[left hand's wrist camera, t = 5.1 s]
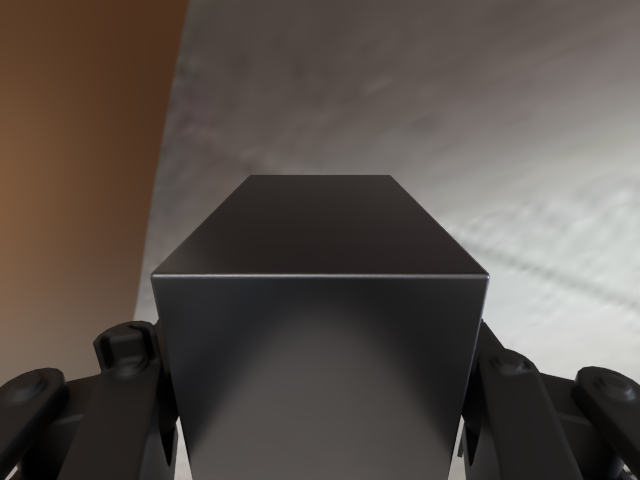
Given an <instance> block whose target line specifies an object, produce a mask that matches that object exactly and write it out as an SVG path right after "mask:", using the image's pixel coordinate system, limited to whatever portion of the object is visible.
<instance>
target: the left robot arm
mask: <svg viewBox="0 0 640 480" xmlns="http://www.w3.org/2000/svg"><path fill="white" fill-rule="evenodd" d="M93 345H94V348H95V352H96V355H97V358H98V361H99V365H100V368H101V373H100V374H98V375H95V376H91V377H86V378H82V379H77V380H73V381H68V382H66V380H65V377H64V375H63V373H62V372H61V371H60V370H59V369H55V368H42V369H36V370H33V371H30V372H26V373H24V374H21V375H19V376H18V377H16V378H14V379H12V380H10V381H8V382H7V383H5V384H4V385H3V386H1V387H0V480H5V479H6V477H7V476H8V475H9V473H10V472H11V471H12V470H13V468H14V467H15V466H17V468H18V470H17V471H16V472H15V474H14V475H13V476H12V477H11V478H10V479H9V480H174V474H175V464H176V454H177V444H178V431H177V426H176V421H177V419H178V417H179V412H178V407H177V402H176V398H175V393H174V388H173V383H172V378H171V374H170V369H169V364H168V359H167V355H166V350H165V345H164V340H163V336H162V331H161V326H160V321H159V320H158V321H157V323H156V324H155V325H152V324H151V323H150V322H145V321H130V322H126V323H123V324H119V325H116V326H114V327H112V328H109V329H107V330H106V331H105V332H103V333H102V334H100V335H99V336H98V337H97V338H96V339H95V341H94V342H93ZM461 415H462V417H463V419H464V426H463V430H462V435H461V439H460V444H459V449H458V455H457V456H458V457H462V455H463V453H464V463H465V473H466V480H633V479H632V478H631V477H630V476H629V475H628V474H627V473H626V471H625V470H624V469H623V466H624V464H626V466H627V467H628V468H629V469H630V471H631V472H632V473H633V474H634V476H635V477H636V478H637V480H640V385H639V384H638V383H636V382H635V381H634V380H632V379H630V378H628V377H626V376H624V375H622V374H621V373H618V372H616V371H612V370H610V369H606V368H601V367H594V366H591V367H583V368H582V369H580V370H579V371H578V373H577V375H576V378H575V381H574V380H570V379H565V378H561V377H556V376H552V375H547V374H544V373H540V372H539V371H538V369H537V368H536V366H535V365H534V363H533V362H531V361H530V360H529V359H528V358H526V357H525V356H523V355H521V354H519V353H517V352H515V351H513V350H509V349H506V348H504V347H503V345H502V344H501V343H500V341H499V340H498V339H497V338H496V336H495V335H494V334H493V332H492V331H491V330H490V328H489V327H488V326H487V324H486V323H485V322H483V319H482V318H481V323H480V328H479V332H478V337H477V342H476V347H475V351H474V356H473V361H472V366H471V370H470V375H469V380H468V385H467V389H466V394H465V399H464V404H463V409H462V413H461Z"/></svg>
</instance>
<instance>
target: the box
mask: <svg viewBox="0 0 640 480" xmlns="http://www.w3.org/2000/svg"><path fill="white" fill-rule="evenodd" d="M489 280H490V276H489V273H488V272H487V271H486V270H485V269H484V268H483V267H482V266H481V265H480V264H479V263H478V262H477V261H476V260H475V259H474V258H473V257H472V256H471V255H470V254H469V253H468V252H467V251H466V250H465V249H464V248H463V247H462V246H461V245H460V244H459V243H458V242H457V241H456V240H455V239H454V238H453V237H452V236H451V235H450V234H449V233H448V232H447V231H446V230H445V229H444V228H443V227H442V226H441V225H440V224H439V223H438V222H437V221H436V220H435V219H434V218H433V217H432V216H431V215H430V214H429V213H428V212H427V211H426V210H425V209H424V208H423V207H422V206H421V205H420V204H419V203H418V202H417V201H416V200H415V199H414V198H413V197H412V196H411V195H410V194H409V193H408V192H407V191H406V190H405V189H404V188H403V187H402V186H401V185H400V184H399V183H398V182H397V181H396V180H395V179H394V178H393V177H392V176H390V175H250V176H249V177H248V178H247V179H246V180H245V181H244V182H243V183H242V184H241V185H240V186H239V187H238V188H237V189H236V190H235V191H234V192H233V193H232V194H231V195H230V196H229V197H228V198H227V199H226V200H225V201H224V202H223V203H222V204H221V205H220V206H219V207H218V208H217V209H216V210H215V211H214V212H213V213H212V214H211V215H210V216H209V217H208V218H207V219H206V220H205V221H204V222H203V223H202V224H201V225H200V226H199V227H198V228H197V229H196V230H195V231H194V232H193V233H192V234H191V235H190V236H189V237H188V238H187V239H186V240H185V241H184V242H183V243H182V244H181V245H180V246H179V247H178V248H177V249H176V250H175V251H174V252H173V253H172V254H171V255H170V256H169V257H168V258H167V259H166V260H165V261H164V262H163V263H162V264H161V265H160V266H159V267H158V268H156V269H155V270H154V271H153V272H152V274H151V283H152V288H153V293H154V297H155V302H156V307H157V312H158V316H159V321H160V326H161V331H162V336H163V340H164V345H165V350H166V355H167V359H168V364H169V369H170V374H171V378H172V383H173V388H174V393H175V398H176V402H177V407H178V412H179V417H180V421H181V426H182V431H183V436H184V441H185V445H186V450H187V455H188V460H189V464H190V469H191V474H192V479H193V480H448V475H449V470H450V466H451V461H452V456H453V451H454V447H455V442H456V437H457V432H458V428H459V423H460V418H461V413H462V409H463V404H464V399H465V394H466V389H467V385H468V380H469V375H470V370H471V366H472V361H473V356H474V351H475V347H476V342H477V337H478V332H479V328H480V323H481V318H482V313H483V309H484V304H485V299H486V294H487V290H488V285H489Z"/></svg>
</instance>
